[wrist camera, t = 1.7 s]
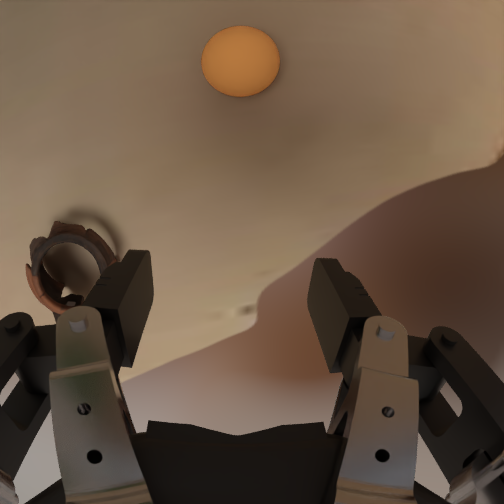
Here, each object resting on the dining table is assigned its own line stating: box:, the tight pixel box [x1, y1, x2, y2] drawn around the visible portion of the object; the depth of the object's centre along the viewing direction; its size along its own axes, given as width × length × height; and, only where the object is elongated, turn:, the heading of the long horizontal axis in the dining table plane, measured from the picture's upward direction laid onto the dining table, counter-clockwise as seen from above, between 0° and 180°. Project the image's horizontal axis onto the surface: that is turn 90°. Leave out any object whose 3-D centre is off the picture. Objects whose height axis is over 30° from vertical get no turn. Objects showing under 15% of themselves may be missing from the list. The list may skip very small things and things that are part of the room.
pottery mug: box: [26, 221, 116, 322], centre depth 26 cm, size 12×10×8 cm
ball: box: [201, 26, 280, 97], centre depth 18 cm, size 6×6×6 cm
